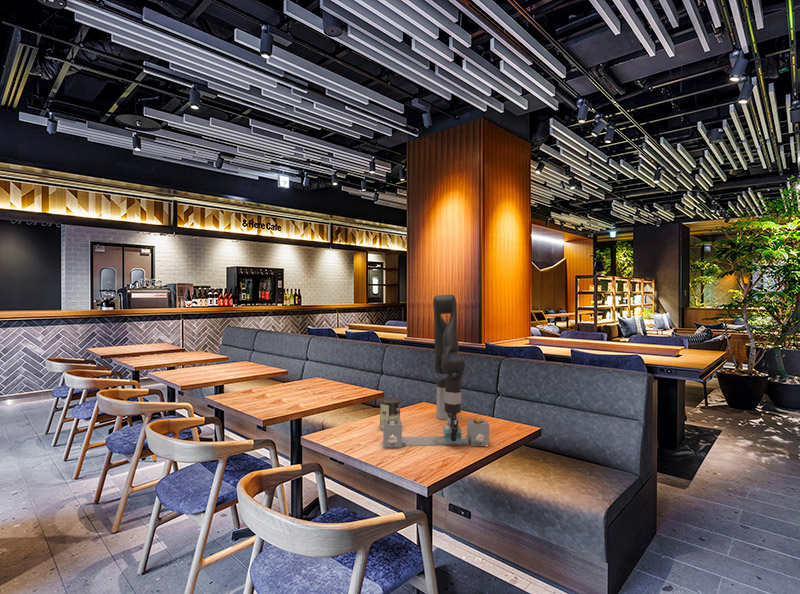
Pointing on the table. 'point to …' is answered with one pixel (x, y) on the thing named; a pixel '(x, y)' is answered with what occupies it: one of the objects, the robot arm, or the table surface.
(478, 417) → the button
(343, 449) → the table surface
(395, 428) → the cabinet
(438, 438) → the rail
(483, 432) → the cabinet
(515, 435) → the table surface
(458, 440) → the carriage
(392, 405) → the coffee can
